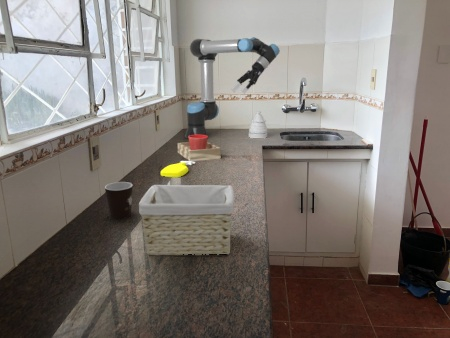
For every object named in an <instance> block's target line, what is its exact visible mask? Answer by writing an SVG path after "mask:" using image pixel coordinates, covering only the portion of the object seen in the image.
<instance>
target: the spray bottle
mask: <svg viewBox="0 0 450 338" xmlns="http://www.w3.org/2000/svg"><path fill="white" fill-rule="evenodd" d="M193 164H194V165H196V161H189V160H180V162H178V163H174V164H173V163H172V164H169V165H167V166H165V167H164V168H163V169H161V171H160V176H161V177H163V176H165V177H166V178H181V176H182V177H183V176H184V175H186V174H187V173H188V172H189V168H188V166H192V165H193ZM165 177H164V178H165Z"/></svg>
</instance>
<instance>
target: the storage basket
mask: <svg viewBox="0 0 450 338" xmlns="http://www.w3.org/2000/svg"><path fill="white" fill-rule="evenodd" d="M234 206H235V190H234V186H232V185H218V184H217V185H216V184H215V185H214V184H213V185H211V184H206V185H205V184H202V185H200V184H199V185H196V184H195V185H190V184H189V185H185V184H184V185H183V184H182V185H181V184H180V185H179V184H175V185H174V184H153V185H151V186H150V188H148V190H147V191H145V193H144V195H143V196H142V198H141V199H140V201H139V202H138V207H139V208H138V213H139V215H140V216H141V220H142V227H143V229H142V230H143V232H142V233H143V235H144V242H145V249H146V254H147V255H148V256H189V255H188V254H192V255H191V256H210V255H209V254H217V255H216V256H220V255H219V254H228V255H229V254H230V253H231V232H232V231H231V230H232V222H233V221H232V219H233V213H234V212H235V210H234V208H235V207H234ZM183 254H184V255H183ZM194 254H195V255H194ZM202 254H203V255H202ZM205 254H206V255H205Z"/></svg>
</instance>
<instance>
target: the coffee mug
mask: <svg viewBox="0 0 450 338" xmlns="http://www.w3.org/2000/svg"><path fill="white" fill-rule="evenodd" d="M133 185H134V184H132V182H126V181H118V182H112V183H111V182H110V183H107V184H106V185H105V186H104V190H105V196H106V200H107V205H108V209H109V215H110V217H111V219H116V220H121V219H127V218H129V217H130V216H131V215H132V206H133V205H132V202H133V199H132V198H133Z"/></svg>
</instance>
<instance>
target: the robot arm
mask: <svg viewBox="0 0 450 338" xmlns="http://www.w3.org/2000/svg"><path fill="white" fill-rule="evenodd" d="M189 50H190V53H191V55H192V56H194V57H196V58H197V61H198V62H199V63H200V100H199V101H198V102H192V103H191V102H190V103H189V104H188V105H187V107H186V112H187V128H186V130H185V135H184V136H185V137H184V138H185V139H188V140H189V138H188V136H190V135H206V136H208V132H207V129H206V121H212V120H214V119H216V118H217V117H218V115H219V112H220V109H219V106H218V105H217V102H216V101H217V100H216V99H215V98H214V63H215V61H216V57H217V55H218V54H226V53H227V54H228V53H255V54H258V56H259V57H258V58H257V59H256V60H255V61H254V63H253V64H252V65H251V70H249V69H248V70H247V71H246V72H245V73H244V74H242V75H241V76H240V77H239V78H238V79H237V81H236V84H235V85H234V86H233V87H232V88H231V91H232V92H233V93H236V92H237V91H238V89H239V88H240V87H241V86H242V85H243V83H244V82H246V81H247V80H249V81H248V82H247V83H246V85H245V86H243V88H242V89H241V92H242V94H244V95H245V94H246V93H247V91H248V90H249V89H250V88H251V87H252V86H254V85H256V83H257V82H258V80H259V77H260V76H261V75H262V74H263V72H264V71H265V70H266V69H267V68H268V67H269V66H270V64H271V63H272V62H273V61H274V60H275V59H276V58H277V57H278V55H279V54H280V48H279V46H278V45H276V44H275V43H270V44H269V45H268V44H266V43H265V42H263V41H261V40H260V39H259V38H258V37H255V36H254V37H253V36H252V37H251V38H247V37H246V38H245V37H244V38H239V39H238V38H237V39H235V38H234V39H222V40H221V39H219V40H217V39H216V40H212V39H204V38H203V39H202V38H195V39H193V40H192V42H190V45H189Z"/></svg>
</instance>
